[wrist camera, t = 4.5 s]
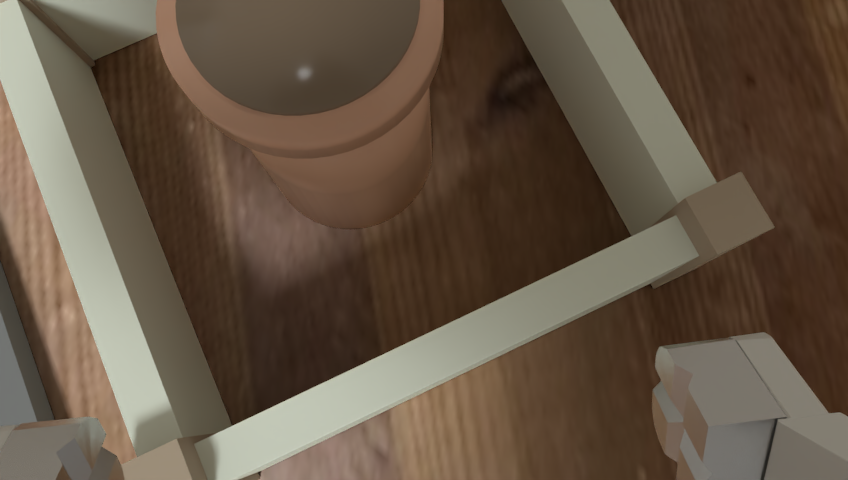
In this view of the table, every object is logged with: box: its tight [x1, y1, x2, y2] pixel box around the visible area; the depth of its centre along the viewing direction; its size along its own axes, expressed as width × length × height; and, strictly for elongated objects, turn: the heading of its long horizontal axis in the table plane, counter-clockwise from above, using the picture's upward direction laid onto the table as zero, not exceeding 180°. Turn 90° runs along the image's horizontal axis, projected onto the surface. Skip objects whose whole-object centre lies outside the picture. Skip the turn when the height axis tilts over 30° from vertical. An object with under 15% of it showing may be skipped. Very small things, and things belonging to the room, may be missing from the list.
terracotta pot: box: [156, 0, 444, 229], centre depth 20 cm, size 6×6×9 cm
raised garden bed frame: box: [0, 0, 775, 480], centre depth 22 cm, size 17×17×6 cm
